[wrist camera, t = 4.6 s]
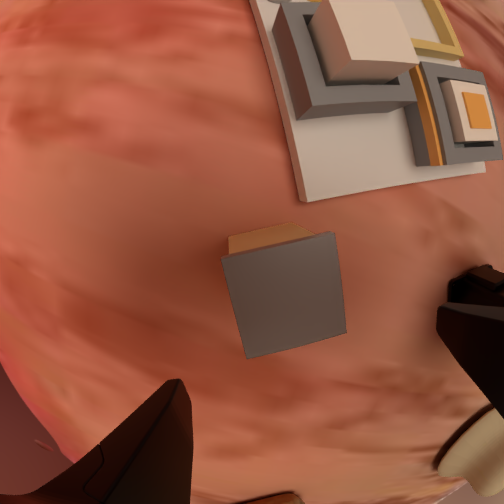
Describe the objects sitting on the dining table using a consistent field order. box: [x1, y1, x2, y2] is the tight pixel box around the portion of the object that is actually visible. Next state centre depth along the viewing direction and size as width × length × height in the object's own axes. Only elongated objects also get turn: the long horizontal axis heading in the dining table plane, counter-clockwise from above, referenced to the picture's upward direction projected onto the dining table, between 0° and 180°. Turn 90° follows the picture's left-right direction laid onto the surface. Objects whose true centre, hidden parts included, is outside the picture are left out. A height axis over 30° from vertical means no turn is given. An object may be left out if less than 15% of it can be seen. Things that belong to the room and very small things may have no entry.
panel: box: [249, 0, 503, 202], centre depth 15 cm, size 19×17×6 cm
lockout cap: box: [221, 222, 347, 359], centre depth 17 cm, size 5×5×8 cm
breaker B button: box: [307, 0, 420, 86], centre depth 12 cm, size 4×4×4 cm
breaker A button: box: [439, 80, 498, 144], centre depth 15 cm, size 4×4×4 cm
